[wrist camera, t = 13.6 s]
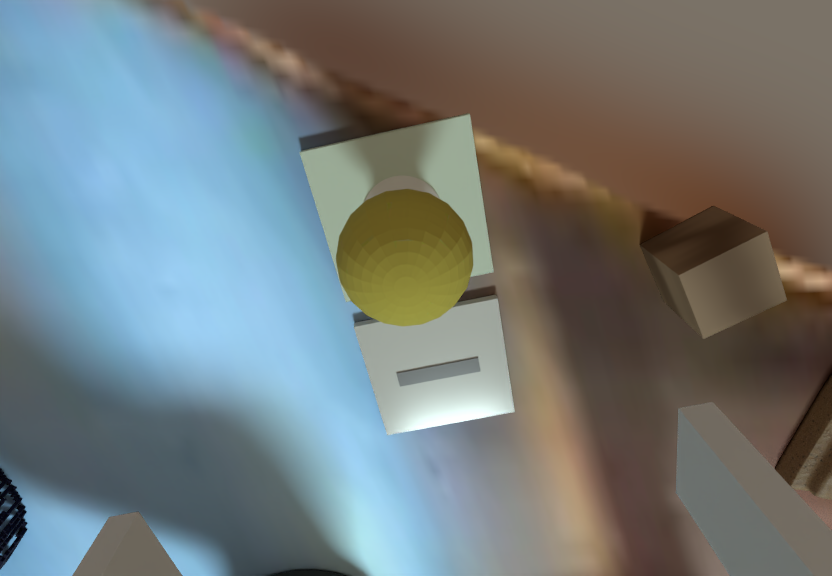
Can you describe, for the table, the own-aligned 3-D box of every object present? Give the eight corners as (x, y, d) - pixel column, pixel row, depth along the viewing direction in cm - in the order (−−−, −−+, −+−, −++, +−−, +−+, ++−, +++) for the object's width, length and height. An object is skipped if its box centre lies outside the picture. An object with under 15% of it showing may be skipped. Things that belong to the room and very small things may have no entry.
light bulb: (419, 138, 27) (431, 179, 18) (476, 231, 30) (511, 306, 21) (326, 201, 29) (294, 268, 20) (388, 285, 31) (385, 377, 22)
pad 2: (387, 429, 38) (387, 436, 37) (354, 322, 33) (353, 327, 33) (512, 406, 37) (514, 412, 36) (496, 294, 33) (497, 299, 32)
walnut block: (662, 301, 34) (703, 338, 29) (639, 244, 32) (678, 275, 27) (733, 266, 32) (786, 300, 28) (713, 205, 31) (767, 231, 26)
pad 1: (346, 297, 32) (345, 302, 32) (301, 150, 28) (299, 152, 27) (492, 268, 32) (493, 272, 31) (468, 113, 28) (470, 114, 27)
